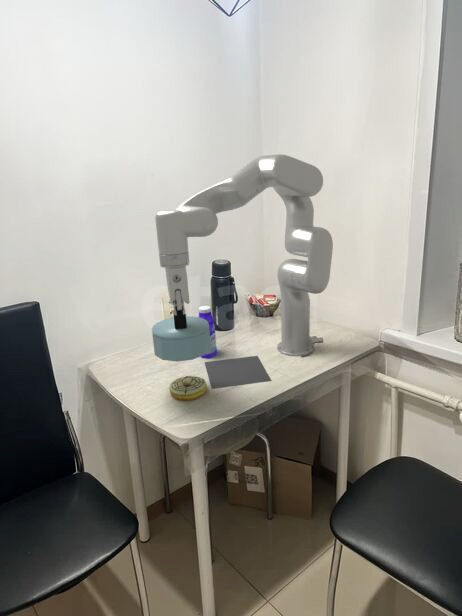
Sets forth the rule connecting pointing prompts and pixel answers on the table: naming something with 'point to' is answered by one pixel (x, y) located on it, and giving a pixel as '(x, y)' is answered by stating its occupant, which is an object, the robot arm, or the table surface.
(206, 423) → the table surface
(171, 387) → the decorated donut
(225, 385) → the mat
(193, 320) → the squat blue cylinder
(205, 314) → the bottle
